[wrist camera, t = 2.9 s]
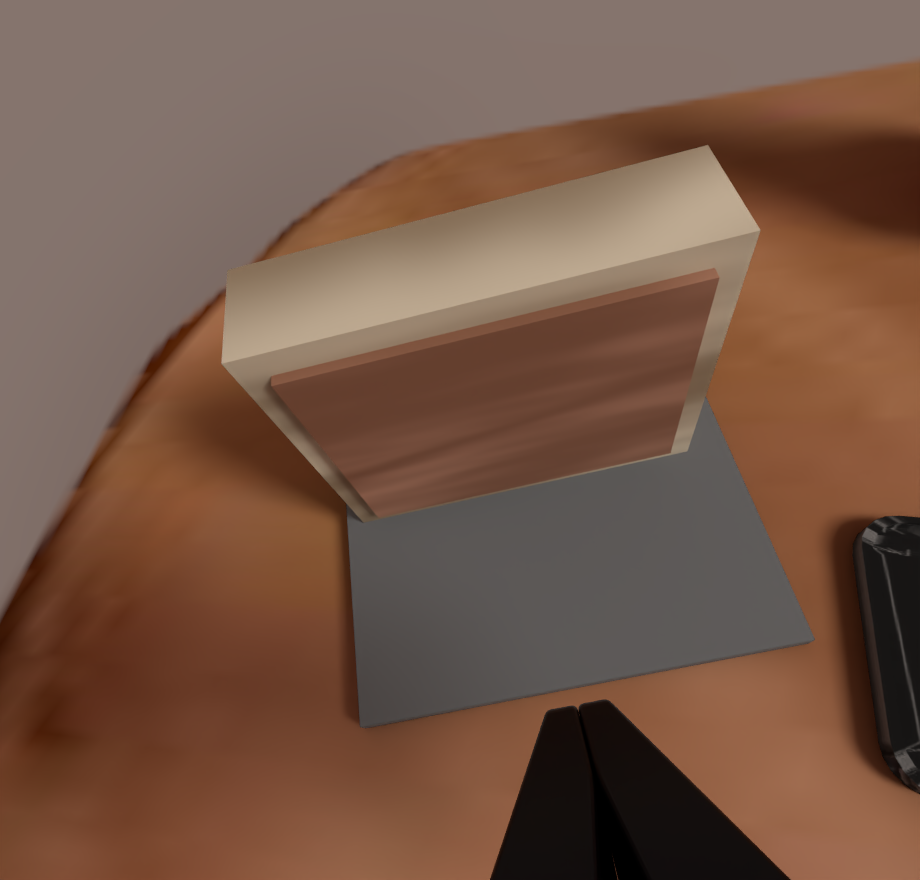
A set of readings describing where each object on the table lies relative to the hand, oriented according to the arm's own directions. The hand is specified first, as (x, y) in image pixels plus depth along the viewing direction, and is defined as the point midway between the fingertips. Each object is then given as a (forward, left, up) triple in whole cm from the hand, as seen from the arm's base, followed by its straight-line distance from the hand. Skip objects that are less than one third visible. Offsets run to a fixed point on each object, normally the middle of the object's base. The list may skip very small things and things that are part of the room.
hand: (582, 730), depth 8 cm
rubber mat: (+13, +1, -11) cm, 17 cm away
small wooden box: (+10, +1, -11) cm, 15 cm away
